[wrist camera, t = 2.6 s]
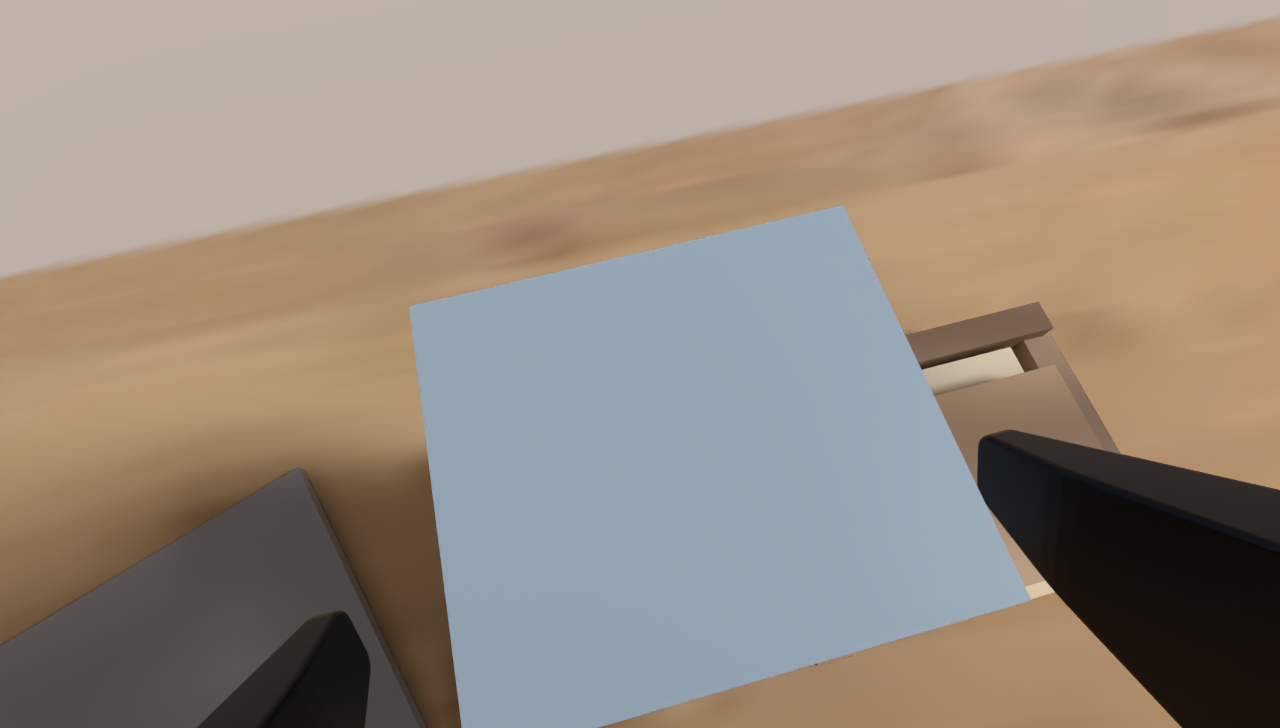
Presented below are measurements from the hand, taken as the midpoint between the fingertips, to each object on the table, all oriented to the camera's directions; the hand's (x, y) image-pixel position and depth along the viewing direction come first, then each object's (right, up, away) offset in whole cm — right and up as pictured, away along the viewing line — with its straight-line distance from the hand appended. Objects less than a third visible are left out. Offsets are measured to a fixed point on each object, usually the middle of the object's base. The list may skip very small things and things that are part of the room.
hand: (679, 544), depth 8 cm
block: (0, -3, +8) cm, 8 cm away
